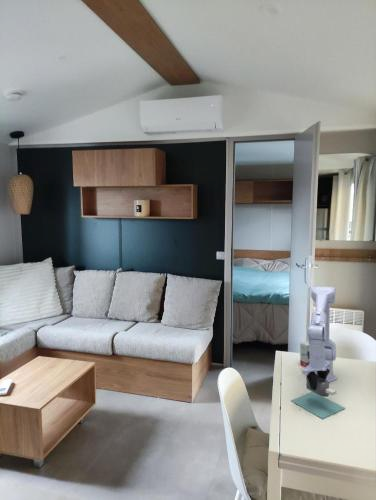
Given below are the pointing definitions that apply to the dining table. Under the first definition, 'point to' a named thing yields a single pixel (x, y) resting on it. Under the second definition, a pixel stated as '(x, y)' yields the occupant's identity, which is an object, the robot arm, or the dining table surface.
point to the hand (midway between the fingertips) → (317, 387)
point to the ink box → (304, 354)
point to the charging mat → (318, 405)
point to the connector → (321, 387)
